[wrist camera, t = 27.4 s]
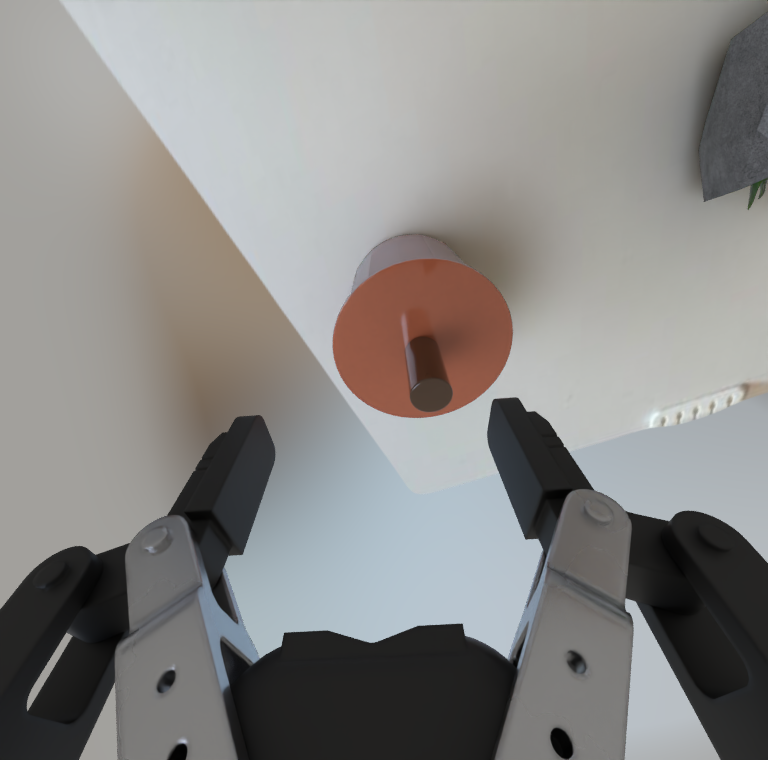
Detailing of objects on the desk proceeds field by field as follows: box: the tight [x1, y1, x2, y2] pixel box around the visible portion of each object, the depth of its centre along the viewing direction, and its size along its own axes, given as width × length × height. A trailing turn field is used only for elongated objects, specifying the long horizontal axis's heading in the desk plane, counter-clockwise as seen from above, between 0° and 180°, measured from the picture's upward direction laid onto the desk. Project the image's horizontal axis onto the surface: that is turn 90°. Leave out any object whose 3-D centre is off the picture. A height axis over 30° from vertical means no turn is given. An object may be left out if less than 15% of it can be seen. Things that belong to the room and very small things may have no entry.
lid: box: [333, 257, 513, 418], centre depth 19 cm, size 12×12×6 cm
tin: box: [351, 234, 465, 293], centre depth 26 cm, size 11×11×10 cm
